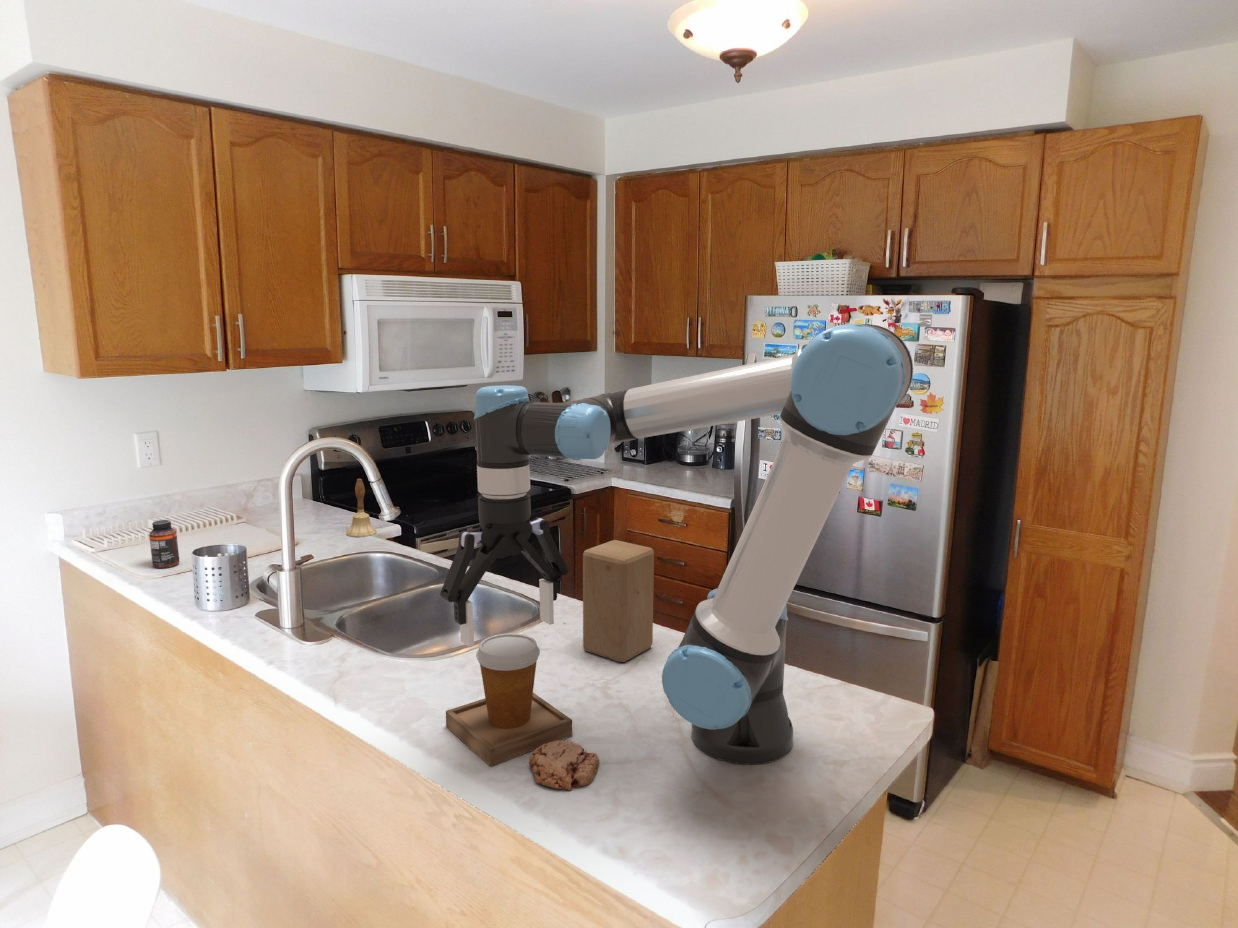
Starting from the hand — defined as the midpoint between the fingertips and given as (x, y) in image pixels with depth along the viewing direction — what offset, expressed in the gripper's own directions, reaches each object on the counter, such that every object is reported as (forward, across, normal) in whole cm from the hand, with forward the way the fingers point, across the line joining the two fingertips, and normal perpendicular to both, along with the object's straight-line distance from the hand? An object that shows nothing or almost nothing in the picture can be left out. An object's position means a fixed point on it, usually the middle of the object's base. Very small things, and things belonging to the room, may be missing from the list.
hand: (508, 632), depth 121 cm
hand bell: (+15, -23, -123) cm, 126 cm away
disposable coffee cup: (+14, 0, 0) cm, 14 cm away
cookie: (+17, 0, +13) cm, 21 cm away
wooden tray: (+16, 0, 0) cm, 16 cm away
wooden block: (+16, -32, -14) cm, 38 cm away
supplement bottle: (+15, +27, -122) cm, 126 cm away
